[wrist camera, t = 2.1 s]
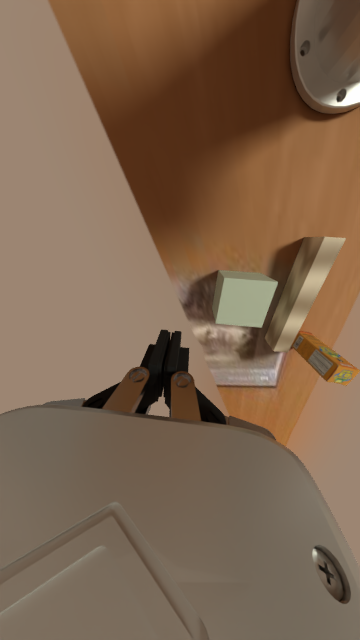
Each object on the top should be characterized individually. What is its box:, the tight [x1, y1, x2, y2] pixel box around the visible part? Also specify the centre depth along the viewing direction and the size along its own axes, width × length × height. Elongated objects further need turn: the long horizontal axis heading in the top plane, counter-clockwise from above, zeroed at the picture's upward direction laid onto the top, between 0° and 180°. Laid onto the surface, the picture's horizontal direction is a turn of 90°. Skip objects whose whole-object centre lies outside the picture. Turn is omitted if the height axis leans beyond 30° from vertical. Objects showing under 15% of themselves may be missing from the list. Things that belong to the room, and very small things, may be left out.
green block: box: [212, 270, 278, 328], centre depth 24 cm, size 7×7×6 cm
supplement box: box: [291, 331, 360, 386], centre depth 26 cm, size 3×3×10 cm
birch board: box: [265, 237, 346, 352], centre depth 25 cm, size 18×2×4 cm, turn 176°
